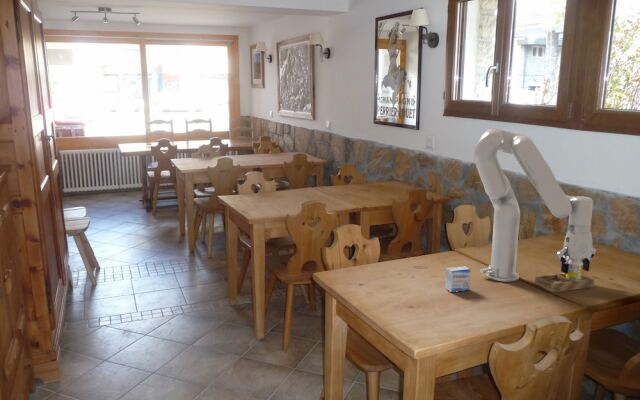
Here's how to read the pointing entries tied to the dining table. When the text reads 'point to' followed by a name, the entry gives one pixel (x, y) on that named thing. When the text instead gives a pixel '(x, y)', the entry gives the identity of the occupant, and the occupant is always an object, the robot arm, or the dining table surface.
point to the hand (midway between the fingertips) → (574, 271)
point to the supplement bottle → (575, 270)
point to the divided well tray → (562, 282)
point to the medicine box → (457, 278)
